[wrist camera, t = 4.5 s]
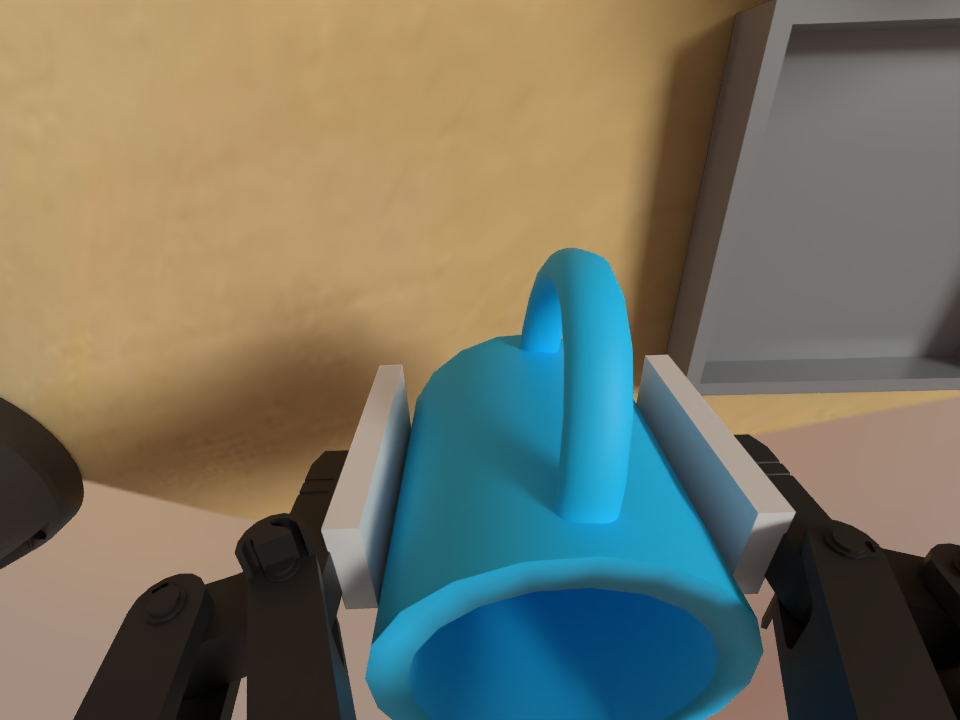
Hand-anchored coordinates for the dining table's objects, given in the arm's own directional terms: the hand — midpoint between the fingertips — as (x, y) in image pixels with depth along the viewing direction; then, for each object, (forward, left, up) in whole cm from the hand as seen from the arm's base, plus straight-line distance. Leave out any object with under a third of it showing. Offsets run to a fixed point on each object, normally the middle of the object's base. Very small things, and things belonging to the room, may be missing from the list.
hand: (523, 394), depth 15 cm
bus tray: (+19, +3, -11) cm, 22 cm away
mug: (0, 0, -1) cm, 1 cm away
